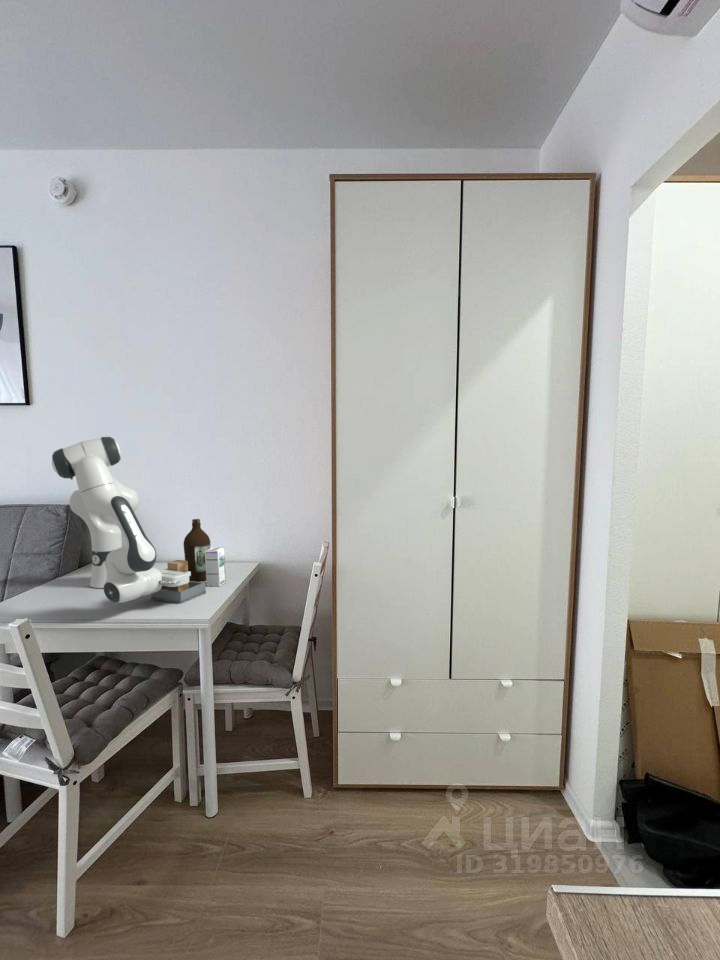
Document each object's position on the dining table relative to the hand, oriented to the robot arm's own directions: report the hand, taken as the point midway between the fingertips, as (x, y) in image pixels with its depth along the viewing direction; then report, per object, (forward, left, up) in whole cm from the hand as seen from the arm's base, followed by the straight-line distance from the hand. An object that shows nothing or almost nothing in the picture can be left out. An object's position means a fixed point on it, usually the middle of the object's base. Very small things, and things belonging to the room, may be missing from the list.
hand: (179, 571), depth 205 cm
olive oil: (-21, -9, -9) cm, 25 cm away
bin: (+1, 0, -9) cm, 9 cm away
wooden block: (+1, 0, -8) cm, 8 cm away
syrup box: (-17, +3, -9) cm, 20 cm away
